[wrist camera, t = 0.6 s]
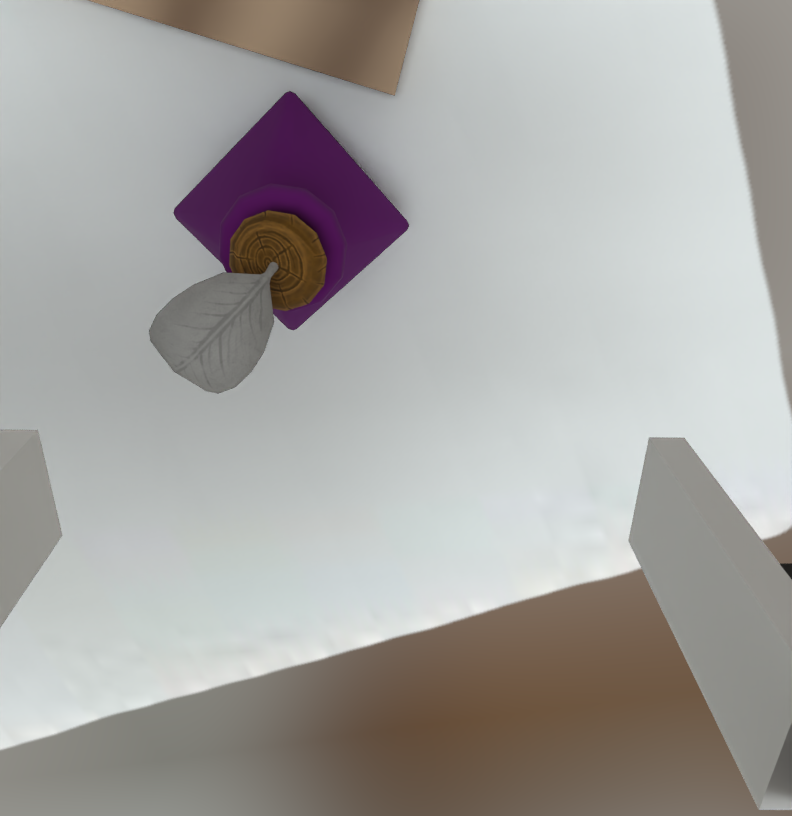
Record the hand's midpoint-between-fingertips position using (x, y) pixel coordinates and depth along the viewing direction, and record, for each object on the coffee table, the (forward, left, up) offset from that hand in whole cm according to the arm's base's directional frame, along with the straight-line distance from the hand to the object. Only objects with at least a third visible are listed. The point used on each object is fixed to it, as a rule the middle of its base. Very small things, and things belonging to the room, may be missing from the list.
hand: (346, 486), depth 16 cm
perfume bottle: (-4, +1, -22) cm, 23 cm away
